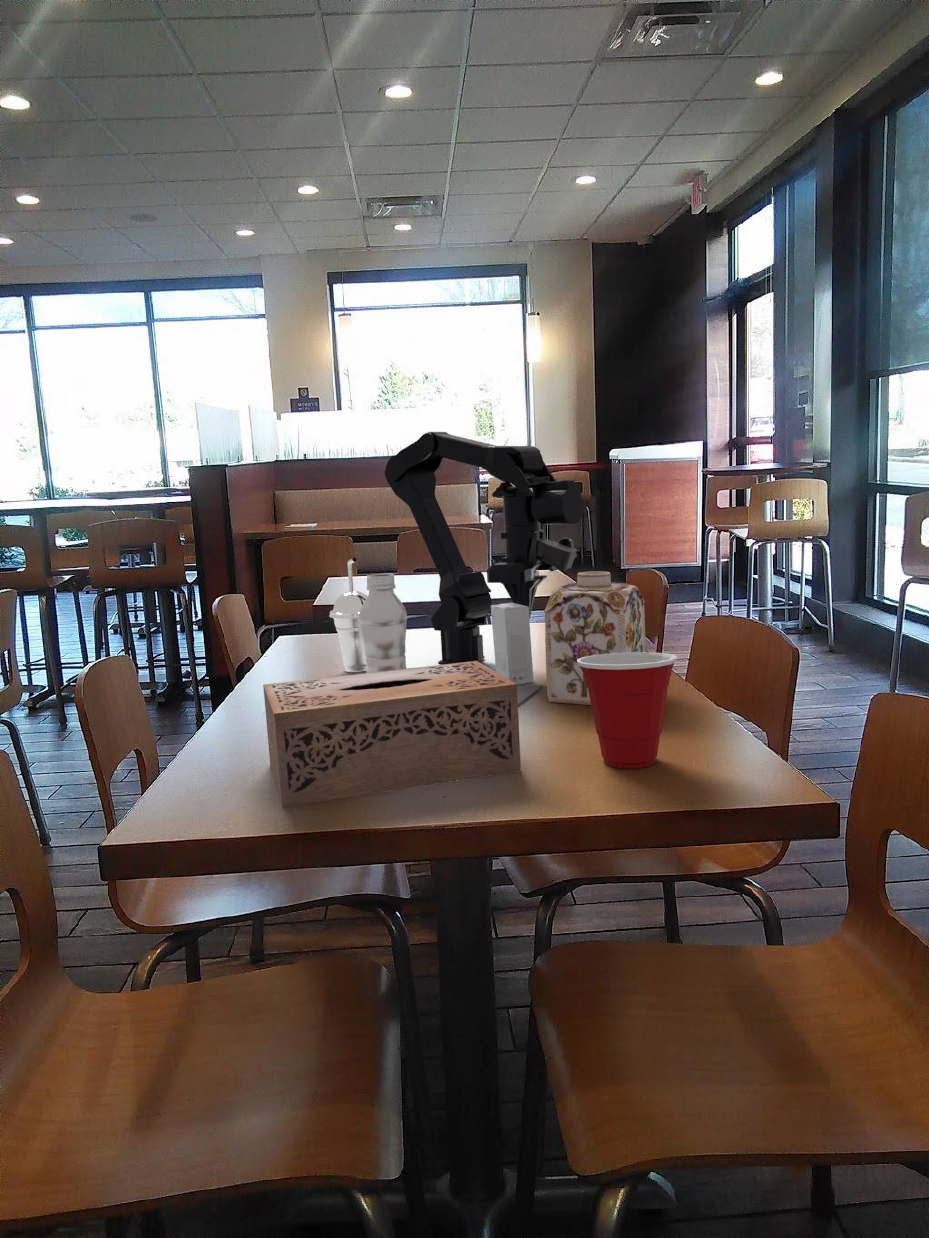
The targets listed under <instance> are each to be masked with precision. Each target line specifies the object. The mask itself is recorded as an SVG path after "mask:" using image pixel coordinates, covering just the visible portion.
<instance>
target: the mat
mask: <svg viewBox="0 0 929 1238" xmlns="http://www.w3.org/2000/svg"><path fill="white" fill-rule="evenodd" d="M543 688H544V685H543V684H527V683H525V684H517V695H518V707H519V706H521V705H522V704H523V703H524V702H526V701H527V700H528V699H529V698H531V697H532V696H534V695H535V694H536V693H538V692H539V691H540V690H541V689H543Z"/></svg>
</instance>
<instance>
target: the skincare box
mask: <svg viewBox="0 0 929 1238" xmlns="http://www.w3.org/2000/svg"><path fill="white" fill-rule="evenodd" d="M490 614H491V625H492V626H491V629H492V639H493V640H492V641H493V649H494V650H493V651H494V664H495V672H497V673H498V674H500V675H502V676H503V677H505V678H507V679H509V680H510V681H512V682H514V683H516V684H531V683H533V682H534V669H533V665H534V664H533V656H532V640H531V639H532V638H531V637H532V636H531V626H530V625H531V624H530V623H531V622H530V619H529V607H527V606H524V605H520V604H516V603H513V602H506V603H498V604H497V603H496V604H491V605H490Z"/></svg>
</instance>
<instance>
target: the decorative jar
mask: <svg viewBox="0 0 929 1238" xmlns="http://www.w3.org/2000/svg"><path fill="white" fill-rule="evenodd" d="M576 578H577V581H576V582H573V583H568V584H564V585H560V586H557V587H556V588H554V589H553V590H551V594H550V597H549V599H548V602H547V604H546V606H545V609H544V610H543V612H544V629H545V630H544V631H545V633H544V636H545V637H544V638H545V640H544V641H545V643H544V644H545V671H546V674H545V675H546V676H545V677H546V695H547V700H548V702H549V703H554V704H555V703H557V704H567V705H570V704H571V705H581V706H583V705H584V706H591V701H590V696H589V691H588V688H587V685H586V680H585V679H584V674H583V672H582V669H581V666H578V663H577V659H580V658H583V657H587V656H593V655H600V654H610V653H629V652H647V651H646V623H645V622H646V620H645V619H646V618H645V616H646V615H645V603H646V601H645V599H644V598H643V596H642V594H641V592H640V591H641V590H639V588H638V586H636V585H634V584H633V585H632V584H629V583H623V582H612V579H611V578H612V577H611V572H609V571H601V570H598V571H597V570H596V571H595V570H594V571H582V572H580V571H579V572H578V573H577V577H576Z"/></svg>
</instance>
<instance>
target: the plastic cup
mask: <svg viewBox="0 0 929 1238" xmlns="http://www.w3.org/2000/svg"><path fill="white" fill-rule="evenodd" d="M677 659H678V657H677V656H676V655H675V654H671V653H667V652H665V653H664V652H650V651H649V652H647V651H646V652H629V653H610V654H600V655H593V656H587V657H583V658H580V659H577V663H578V666H581V669H582V672H583V674H584V679H585V680H586V685H587V688H588V691H589V696H590V701H591V705H590V706H591V710H592V711H591V712H592V715H593V720H594V726H595V730H596V734H597V737H598V742H599V747H600V752H601V756H602V757H601V758H602V759H603V763H604V764H605V765H607V766H609V767H613V768H617V769H625V770H626V769H628V770H629V769H631V770H632V769H633V770H634V769H635V770H636V769H637V770H638V769H641V768H648V767H650V766H652V765H654V763H656V759H657V757H658V752H659V745H660V737H661V734H662V729H663V723H664V716H665V710H666V701H667V697H668V696H667V695H668V689H669V686H670V678H671V676H672V672H673V671H672V670H673V668H674V665H675V663H676V662H677Z"/></svg>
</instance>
